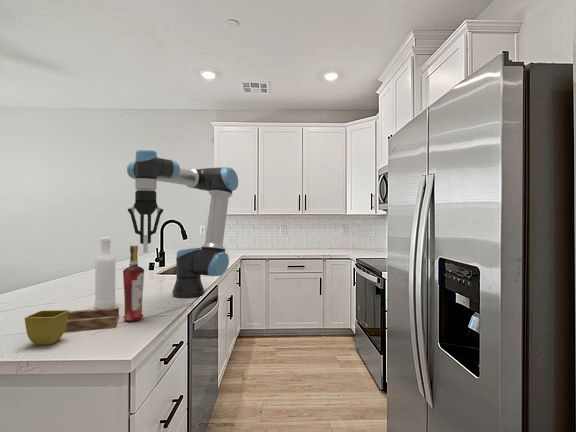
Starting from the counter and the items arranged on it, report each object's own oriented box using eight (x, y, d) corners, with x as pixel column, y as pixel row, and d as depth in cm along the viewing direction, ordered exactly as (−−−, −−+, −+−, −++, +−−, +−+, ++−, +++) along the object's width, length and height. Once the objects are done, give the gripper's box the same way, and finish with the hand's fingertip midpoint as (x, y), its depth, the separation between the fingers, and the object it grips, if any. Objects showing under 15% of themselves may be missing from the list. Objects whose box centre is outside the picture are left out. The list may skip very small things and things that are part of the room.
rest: (118, 316, 142) (118, 307, 142) (115, 327, 128) (115, 317, 128) (43, 322, 133) (43, 313, 133) (31, 335, 119) (31, 324, 119)
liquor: (132, 316, 142) (132, 244, 142) (147, 318, 140) (148, 245, 140) (118, 321, 135) (118, 246, 135) (134, 323, 133) (135, 247, 133)
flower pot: (40, 338, 117) (41, 310, 117) (69, 337, 118) (69, 309, 118) (23, 347, 108) (23, 317, 108) (54, 347, 109) (54, 317, 109)
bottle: (106, 309, 152) (107, 237, 152) (90, 308, 153) (90, 237, 153) (119, 305, 160) (119, 236, 160) (103, 304, 161) (104, 236, 161)
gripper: (163, 191, 145) (163, 251, 145) (127, 190, 140) (127, 251, 140) (164, 190, 138) (163, 252, 138) (126, 189, 133) (126, 253, 133)
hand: (145, 252), depth 139 cm, fingers closed
